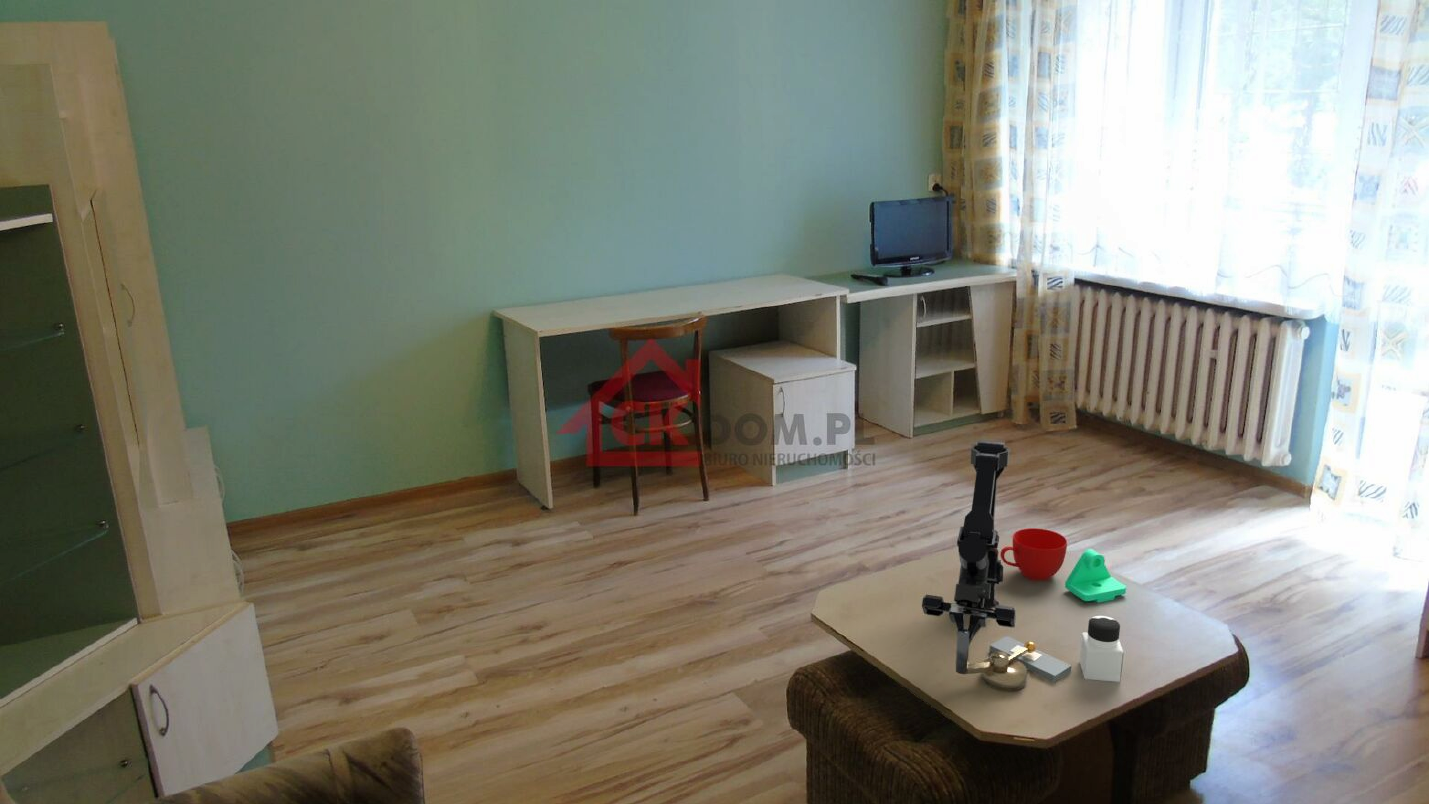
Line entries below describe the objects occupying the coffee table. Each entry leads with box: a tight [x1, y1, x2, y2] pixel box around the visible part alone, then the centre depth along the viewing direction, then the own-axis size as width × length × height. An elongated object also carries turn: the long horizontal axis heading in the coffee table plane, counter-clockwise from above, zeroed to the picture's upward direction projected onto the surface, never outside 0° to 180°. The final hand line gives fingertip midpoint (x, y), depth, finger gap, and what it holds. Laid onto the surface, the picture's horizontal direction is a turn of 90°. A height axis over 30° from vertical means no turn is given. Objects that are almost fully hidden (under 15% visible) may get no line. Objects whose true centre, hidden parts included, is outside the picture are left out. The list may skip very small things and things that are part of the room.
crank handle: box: [955, 628, 1037, 692], centre depth 205 cm, size 20×12×12 cm, turn 97°
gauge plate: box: [989, 635, 1072, 683], centre depth 212 cm, size 16×6×2 cm, turn 39°
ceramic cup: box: [999, 527, 1068, 582], centre depth 248 cm, size 13×17×10 cm
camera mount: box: [1064, 548, 1127, 604], centre depth 239 cm, size 12×8×10 cm, turn 108°
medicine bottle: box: [1079, 615, 1125, 683], centre depth 206 cm, size 7×7×12 cm
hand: (963, 651), depth 204 cm, fingers closed, pressing on crank handle
